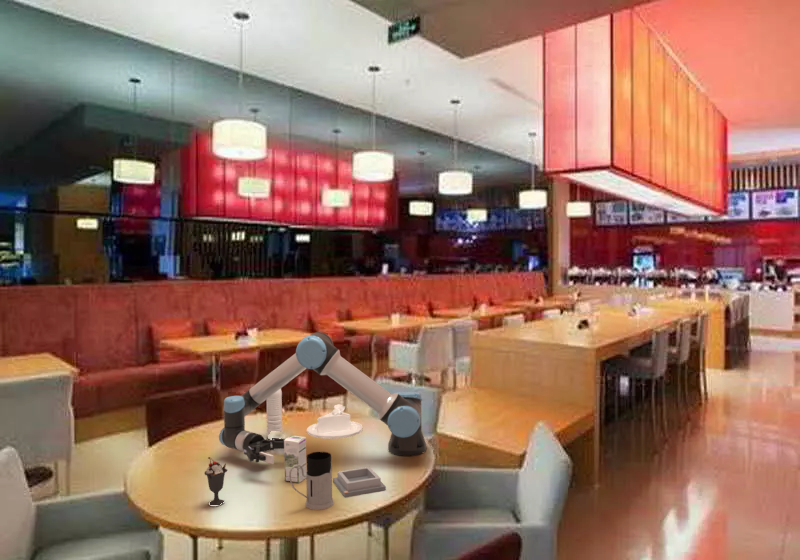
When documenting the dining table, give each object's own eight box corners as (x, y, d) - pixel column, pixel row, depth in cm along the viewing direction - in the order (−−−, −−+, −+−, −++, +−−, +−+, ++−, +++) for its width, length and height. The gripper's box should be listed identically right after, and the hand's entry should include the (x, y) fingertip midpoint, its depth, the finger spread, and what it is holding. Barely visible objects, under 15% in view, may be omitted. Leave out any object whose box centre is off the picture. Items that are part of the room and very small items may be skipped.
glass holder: (338, 504, 172) (338, 456, 172) (296, 517, 164) (295, 466, 164) (325, 495, 180) (324, 449, 179) (284, 506, 171) (283, 458, 171)
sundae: (200, 506, 172) (199, 458, 172) (215, 497, 179) (214, 451, 178) (217, 509, 170) (216, 460, 170) (231, 500, 176) (231, 453, 176)
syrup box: (307, 477, 195) (306, 436, 195) (298, 483, 189) (298, 441, 189) (292, 475, 197) (292, 434, 196) (284, 481, 191) (283, 439, 191)
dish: (340, 419, 268) (340, 396, 268) (373, 430, 249) (373, 405, 249) (296, 430, 251) (295, 405, 251) (328, 443, 233) (328, 416, 233)
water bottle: (281, 440, 237) (280, 381, 236) (266, 441, 236) (265, 382, 235) (283, 434, 245) (282, 377, 244) (268, 434, 244) (267, 378, 244)
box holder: (371, 475, 196) (371, 464, 196) (385, 490, 183) (385, 478, 183) (332, 481, 191) (332, 470, 191) (344, 497, 178) (344, 485, 178)
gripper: (277, 444, 217) (314, 455, 204) (221, 462, 198) (259, 475, 185) (276, 424, 217) (314, 434, 204) (221, 441, 198) (258, 453, 184)
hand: (288, 454), depth 194 cm, fingers open, 13 cm apart
